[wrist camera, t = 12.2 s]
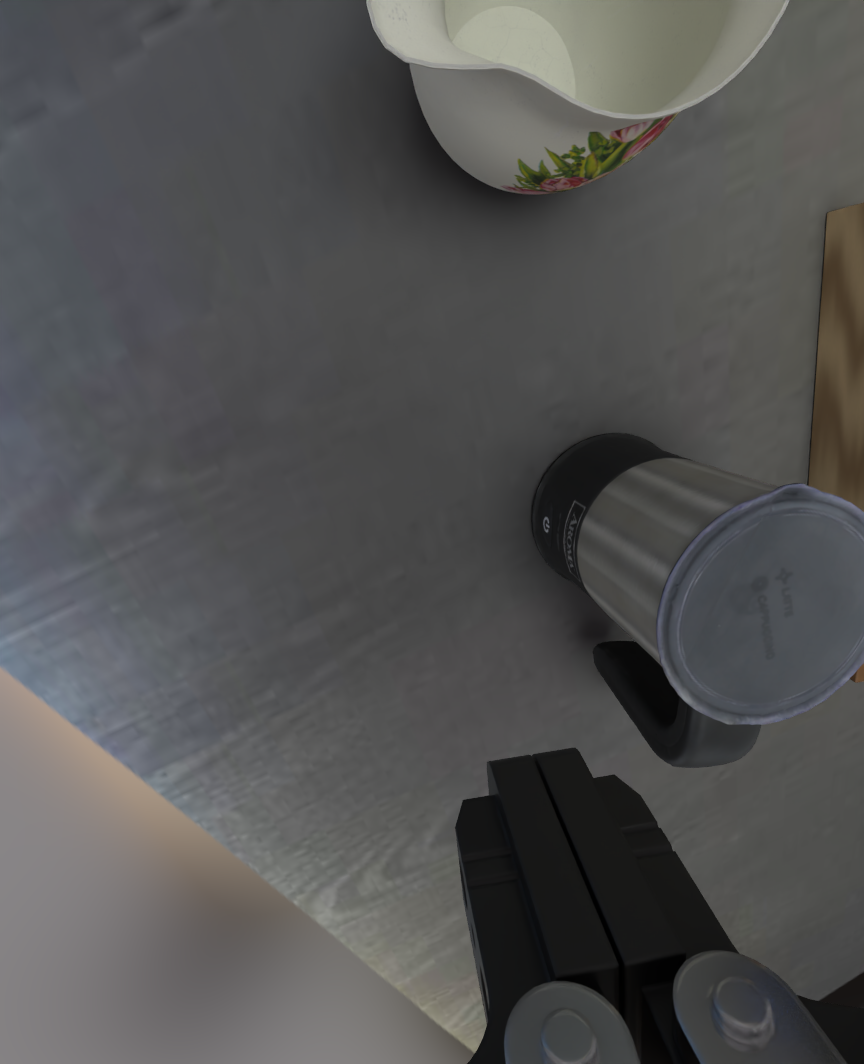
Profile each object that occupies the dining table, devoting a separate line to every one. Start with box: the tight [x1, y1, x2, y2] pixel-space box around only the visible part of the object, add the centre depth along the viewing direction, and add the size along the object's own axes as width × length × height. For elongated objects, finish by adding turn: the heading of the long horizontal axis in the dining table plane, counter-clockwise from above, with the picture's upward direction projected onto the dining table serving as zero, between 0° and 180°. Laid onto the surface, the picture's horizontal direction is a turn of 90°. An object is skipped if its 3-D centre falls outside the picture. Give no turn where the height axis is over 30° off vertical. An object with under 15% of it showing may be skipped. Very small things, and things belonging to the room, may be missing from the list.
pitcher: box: [366, 0, 789, 195], centre depth 22 cm, size 11×18×14 cm, turn 116°
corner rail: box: [808, 203, 864, 683], centre depth 33 cm, size 26×15×5 cm, turn 7°
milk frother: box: [532, 433, 864, 768], centre depth 29 cm, size 14×16×15 cm
